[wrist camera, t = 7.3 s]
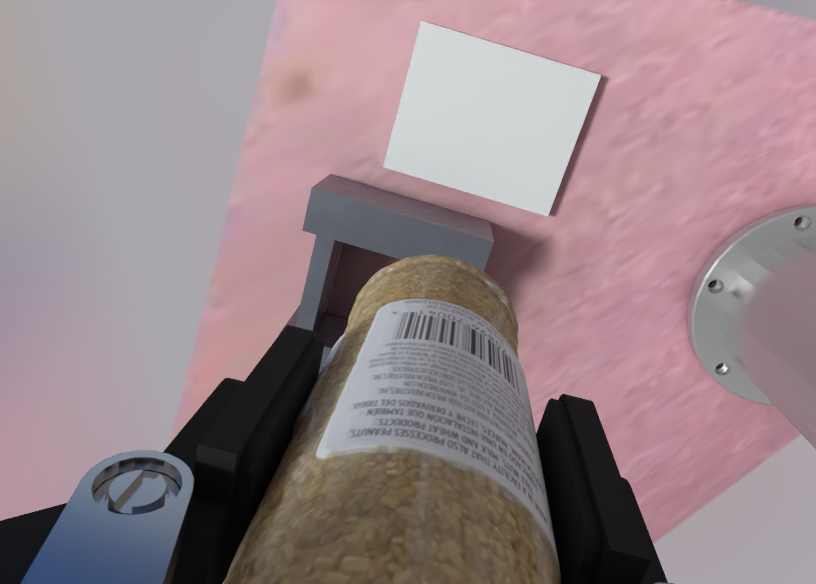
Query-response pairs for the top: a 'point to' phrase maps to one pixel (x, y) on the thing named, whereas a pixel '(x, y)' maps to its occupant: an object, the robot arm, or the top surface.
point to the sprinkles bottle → (411, 447)
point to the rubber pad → (488, 118)
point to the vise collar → (376, 241)
